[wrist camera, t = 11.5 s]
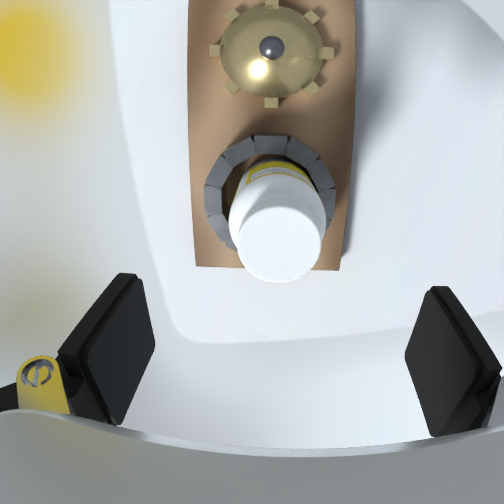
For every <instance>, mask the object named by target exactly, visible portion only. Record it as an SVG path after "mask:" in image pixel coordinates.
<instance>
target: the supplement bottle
mask: <svg viewBox="0 0 504 504" xmlns="http://www.w3.org/2000/svg"><path fill="white" fill-rule="evenodd" d="M325 229H326V214H325V210H324V207H323V204H322V201H321V199H320V197H319V195H318V194H317V192H316V190H315V188H314V186H313V185H312V183H311V181H310V179H309V177H308V176H307V174H306V173H305V171H304V170H303V169H302V168H301V167H300V166H299V165H297V164H296V163H294V162H293V161H291V160H288V159H285V158H281V157H269V158H265V159H261V160H259V161H257V162H255V163H254V164H252V165H251V166H250V167H249V168H248V169H247V170H246V171H245V173H244V174H243V176H242V178H241V180H240V183H239V185H238V188H237V191H236V194H235V197H234V200H233V203H232V206H231V209H230V214H229V230H230V234H231V237H232V240H233V242H234V244H235V245H236V247H237V250H238V254H239V257H240V260H241V262H242V263H243V265H244V266H245V268H246V269H247V270H248V271H249V272H250V273H252V274H253V275H255V276H256V277H258V278H260V279H262V280H265V281H269V282H275V283H282V282H289V281H293V280H295V279H298V278H300V277H301V276H303V275H305V274H306V273H307V272H308V271H309V270H311V269H312V267H313V266H314V265H315V263H316V262H317V260H318V258H319V255H320V252H321V244H322V239H323V237H324V234H325Z"/></svg>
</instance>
